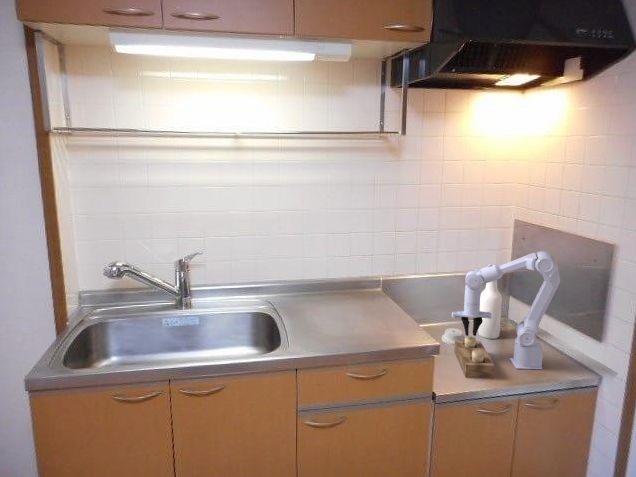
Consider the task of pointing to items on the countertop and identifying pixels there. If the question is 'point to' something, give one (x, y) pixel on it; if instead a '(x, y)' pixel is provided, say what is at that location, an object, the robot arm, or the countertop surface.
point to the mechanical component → (452, 336)
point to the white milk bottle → (492, 304)
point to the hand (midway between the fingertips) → (470, 335)
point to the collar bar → (468, 366)
